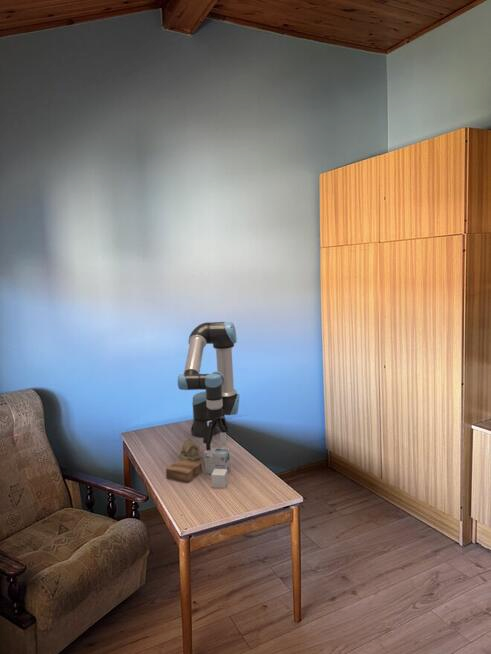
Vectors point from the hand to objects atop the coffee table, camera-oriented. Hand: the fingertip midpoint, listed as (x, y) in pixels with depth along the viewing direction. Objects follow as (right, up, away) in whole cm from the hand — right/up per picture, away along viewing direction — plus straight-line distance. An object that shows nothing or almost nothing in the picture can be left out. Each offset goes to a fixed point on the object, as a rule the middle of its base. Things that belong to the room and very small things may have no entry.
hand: (216, 450), depth 236 cm
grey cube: (+2, -13, -11) cm, 17 cm away
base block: (-15, -12, 0) cm, 19 cm away
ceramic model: (-14, -8, +20) cm, 26 cm away
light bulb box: (0, -11, +2) cm, 11 cm away
